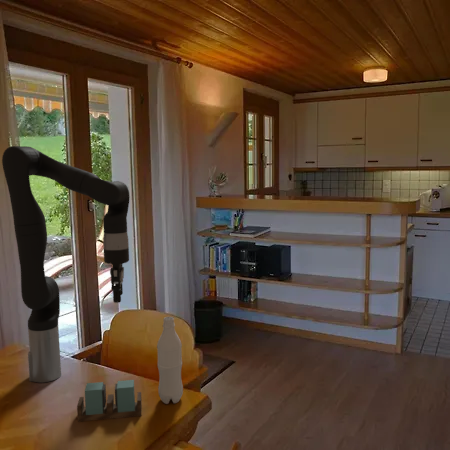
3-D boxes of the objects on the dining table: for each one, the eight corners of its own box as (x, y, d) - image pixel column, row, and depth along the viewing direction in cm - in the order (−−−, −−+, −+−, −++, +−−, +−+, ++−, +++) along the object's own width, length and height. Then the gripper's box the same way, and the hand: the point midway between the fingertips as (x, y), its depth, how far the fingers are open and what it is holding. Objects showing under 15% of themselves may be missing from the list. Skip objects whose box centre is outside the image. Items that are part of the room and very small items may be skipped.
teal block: (134, 402, 135) (133, 379, 134) (134, 410, 131) (133, 386, 130) (116, 404, 135) (115, 381, 134) (115, 412, 130) (114, 388, 129)
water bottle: (179, 407, 136) (176, 322, 133) (155, 404, 137) (152, 321, 134) (186, 395, 143) (184, 315, 140) (163, 393, 144) (160, 313, 141)
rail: (77, 421, 129) (77, 405, 128) (80, 412, 134) (79, 397, 133) (141, 415, 131) (140, 400, 131) (141, 406, 136) (141, 391, 136)
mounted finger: (85, 415, 129) (84, 390, 128) (88, 406, 133) (86, 383, 133) (105, 413, 130) (103, 389, 129) (106, 405, 134) (105, 381, 133)
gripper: (127, 250, 138) (129, 304, 140) (129, 242, 152) (131, 291, 154) (101, 251, 137) (103, 305, 139) (105, 243, 151) (107, 293, 153)
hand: (118, 298), depth 147 cm, fingers open, 8 cm apart
